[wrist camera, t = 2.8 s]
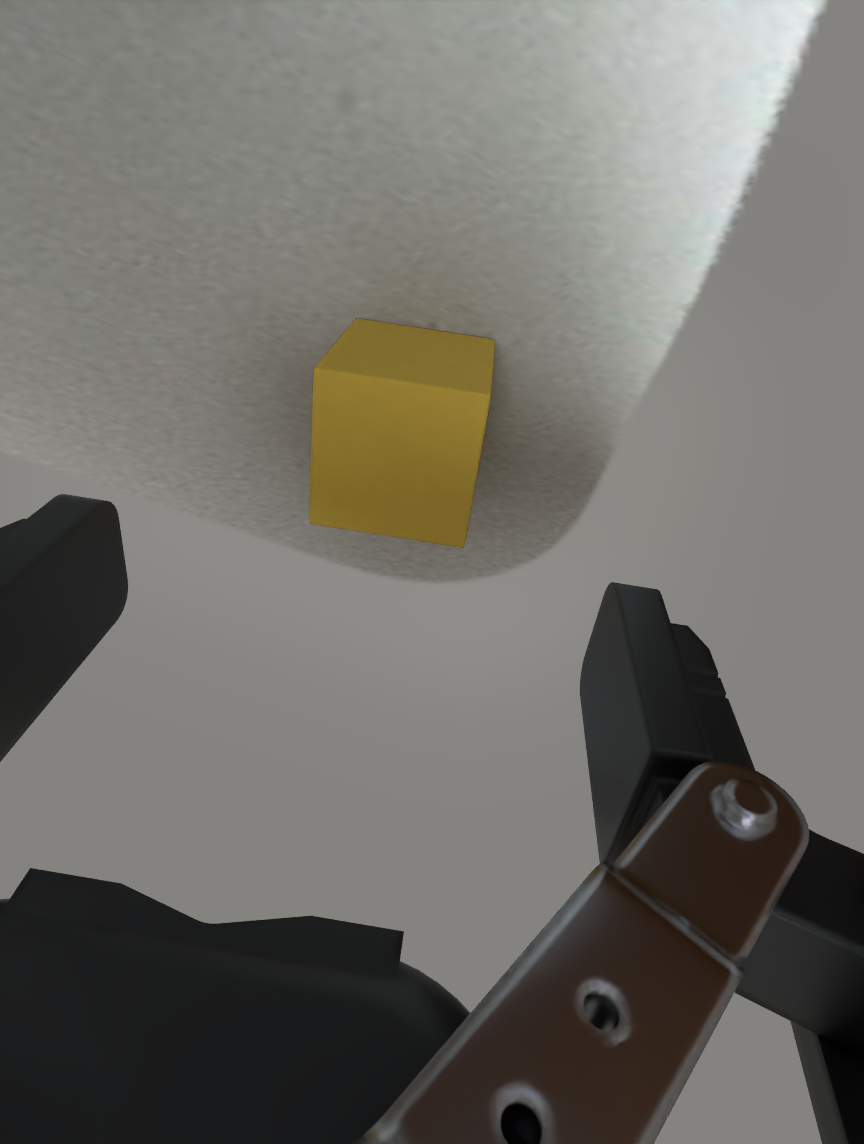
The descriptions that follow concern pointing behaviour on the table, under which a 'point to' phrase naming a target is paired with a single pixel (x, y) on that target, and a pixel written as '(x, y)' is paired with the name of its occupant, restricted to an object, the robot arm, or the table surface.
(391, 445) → the yellow cube
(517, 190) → the table surface
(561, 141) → the table surface
